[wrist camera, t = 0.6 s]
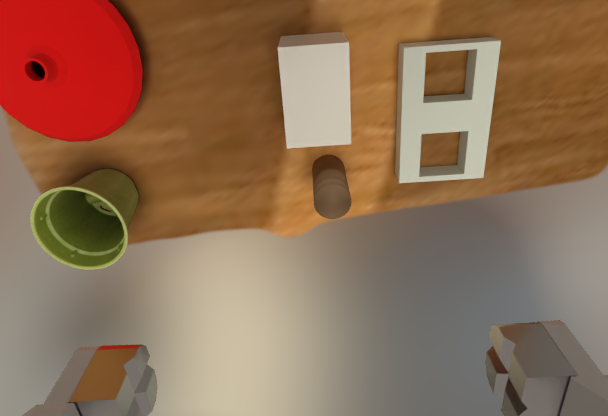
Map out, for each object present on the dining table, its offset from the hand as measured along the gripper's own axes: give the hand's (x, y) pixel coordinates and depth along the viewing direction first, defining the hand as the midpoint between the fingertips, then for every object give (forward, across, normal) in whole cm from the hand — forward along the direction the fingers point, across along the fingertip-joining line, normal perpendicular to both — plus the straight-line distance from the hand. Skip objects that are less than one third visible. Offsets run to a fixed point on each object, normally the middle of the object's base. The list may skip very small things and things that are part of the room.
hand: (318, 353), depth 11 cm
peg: (+39, -2, +12) cm, 41 cm away
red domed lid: (+39, +23, -2) cm, 46 cm away
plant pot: (+39, +23, +13) cm, 47 cm away
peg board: (+39, -14, +6) cm, 42 cm away
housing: (+39, -1, +2) cm, 39 cm away
